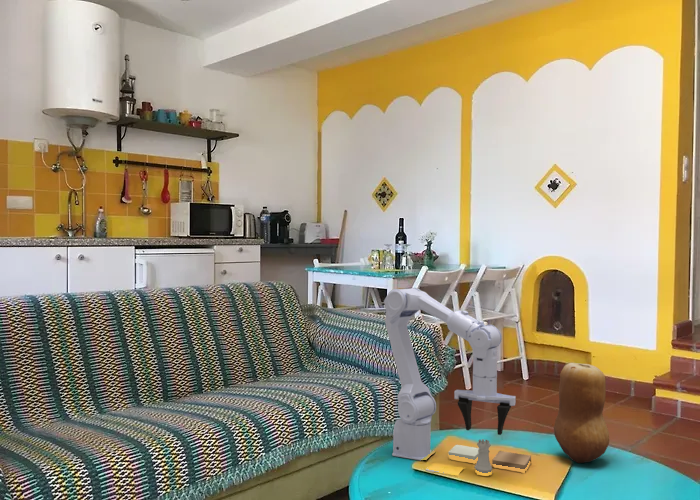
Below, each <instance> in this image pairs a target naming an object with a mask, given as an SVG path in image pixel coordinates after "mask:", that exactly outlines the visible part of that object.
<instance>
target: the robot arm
mask: <svg viewBox="0 0 700 500" xmlns="http://www.w3.org/2000/svg"><path fill="white" fill-rule="evenodd" d="M383 303H384V308H385V320H384V321H385V327H386V332H387V336H388V339H389V343H390V346H391V351H392V354H393V358H394V363H395V366H396V370H397V373H398V377H399V383H400V385H401V388H400V390H399V392H398V394H397V396H396V398H397V401H398V404H397V413H398V415H399V418H398V419H397V420H396V421H395V423H394V425H393V438H392V441H393V442H392V447H393V448H392V454H391V456H392V457H399V458H404V459H409V460H410V459H411V460H416V461H421V459H423V458H424V457H426V456H427V455H428V454H430V452H431V451H432V450H431V434H432V433H431V432H432V431H431V428H432V427H431V426H432V425H431V423H432V419H433V418H432V416H434V414H436V411H437V402H436V400H435V398H434V397H433V396H432V393H431V391H430V388H429V387H428V386H427V385H426V384H425V383H424V382H423V381H422V378H421V374H420V371H419V368H418V364H417V360H416V355H415V352H414V347H413V345H412V341H411V337H410V336H411V335H410V333H409V330H408V329H409V328H408V324H409V321H410V320H411V318H413V316H415V315H416V313H418V312H419V311H423V312H425V313H427V314H429V315H430V316H432V317H434V318H437V319H438V320H440V321H442V322H444V323H446V325H447V330H448V331H450V332H452V333H453V334H455V335H457V336H459V338H461V339H464V340H465V341H467V342H468V344H469V346H470V348H471V349H472V359H473V360H472V390H471V389H470V390H469V389H468V390H467V389H456V390H454V394H453V395H454V400H458V401H457V406H458V408H459V409H460V412H461V414H462V417H463V421H464V424H465V430H466V431H470V430H471V429H472V408H473V407H472V406H473V402H474V401H475V402H484V403H493V404H498V405H497V407H496V409H497V435H498V436H501V435H502V434H503V430H504V426H505V421H506V419H507V416H508V414H509V412H510V410H511V408H512V407H514V406H516V403H517V402H516V398H517V397H516V395H509V394H502V393H498V391H497V389H498V388H497V387H498V385H497V383H498V382H497V381H498V379H497V378H498V347H499V346H500V345H501V342H502V339H503V338H502V337H503V336H502V333H501V331H500V329H498V328H497V327H496V326H495V325H494V324H486V325H485V322H484V321H483V320H481V319H480V320H479V319H477V318H474V317H473V316H471V315H469V311H467V310H466V309H465V310H455V311H454V310H452V309H450V308H448V307H447V306H446V305H444V304H443V303H441V302H439V300H438V301H437V300H436V299H435V298H433V297H432V296H431V295H429V294H428V293H427V292H426V291H424V290H421V289H419V288H417V287H410V288H400V289H399V288H394V289H391V290H390V291H389V292H388V293H387V295H386V297H385V298H384V299H383Z"/></svg>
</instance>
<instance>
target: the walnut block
mask: <svg viewBox="0 0 700 500" xmlns="http://www.w3.org/2000/svg"><path fill="white" fill-rule="evenodd" d="M530 460H531V461H532V455H529V454H522V453H517V452H510V451H504V450H499V451H498V452H497V453H496V455H495V456H494V457H493V459H492V463H491V465H492V464H496V465H502V466H508V467H515V468H520V469H525V468H526V467H527V465H528V463H529V461H530Z"/></svg>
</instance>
